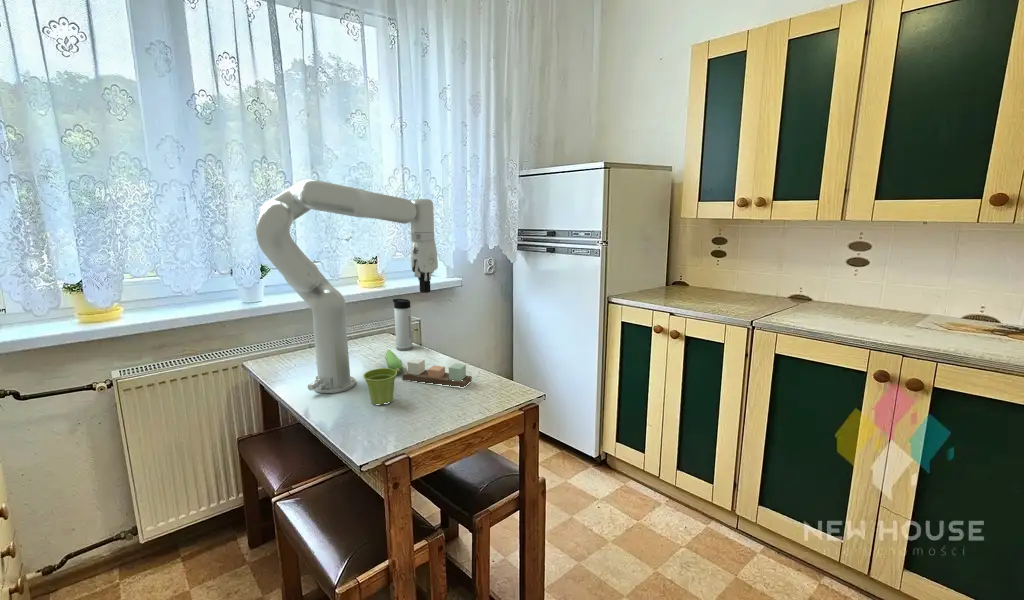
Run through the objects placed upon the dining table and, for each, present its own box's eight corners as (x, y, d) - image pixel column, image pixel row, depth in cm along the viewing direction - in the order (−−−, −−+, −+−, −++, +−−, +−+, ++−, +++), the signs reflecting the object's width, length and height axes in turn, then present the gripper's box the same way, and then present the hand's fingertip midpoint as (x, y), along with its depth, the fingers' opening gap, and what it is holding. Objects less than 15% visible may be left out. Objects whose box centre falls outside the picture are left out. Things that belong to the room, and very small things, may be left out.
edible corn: (387, 366, 161) (400, 360, 162) (380, 350, 179) (392, 345, 180) (393, 379, 162) (406, 374, 163) (385, 362, 180) (397, 357, 182)
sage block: (460, 381, 153) (460, 369, 152) (449, 379, 155) (448, 367, 154) (466, 376, 157) (465, 364, 156) (454, 375, 158) (454, 363, 157)
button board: (463, 388, 152) (463, 382, 152) (402, 380, 160) (402, 374, 159) (471, 382, 158) (471, 376, 157) (412, 373, 165) (412, 368, 165)
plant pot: (382, 411, 137) (380, 382, 135) (358, 404, 142) (356, 376, 140) (405, 399, 145) (403, 371, 143) (381, 393, 150) (379, 366, 148)
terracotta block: (439, 382, 156) (439, 370, 155) (428, 381, 157) (427, 369, 157) (445, 378, 160) (444, 366, 159) (434, 376, 161) (434, 365, 160)
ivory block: (418, 375, 158) (418, 363, 157) (407, 373, 160) (407, 362, 159) (424, 371, 162) (424, 359, 161) (414, 369, 163) (413, 358, 162)
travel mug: (394, 347, 193) (391, 298, 189) (410, 345, 196) (408, 296, 192) (397, 352, 188) (394, 301, 183) (414, 349, 190) (411, 299, 186)
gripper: (421, 239, 152) (423, 297, 156) (443, 235, 166) (445, 288, 170) (400, 239, 155) (403, 295, 159) (424, 235, 169) (426, 287, 173)
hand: (425, 292), depth 164 cm, fingers closed
